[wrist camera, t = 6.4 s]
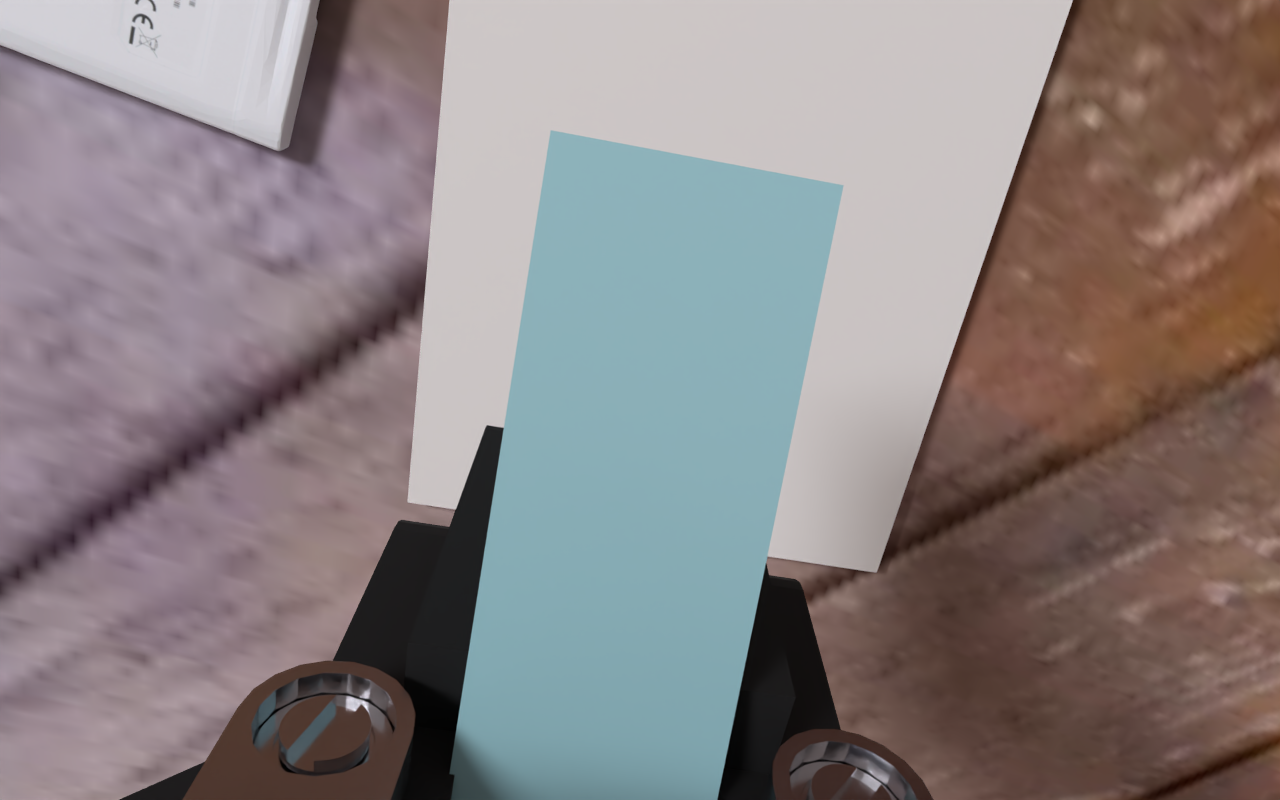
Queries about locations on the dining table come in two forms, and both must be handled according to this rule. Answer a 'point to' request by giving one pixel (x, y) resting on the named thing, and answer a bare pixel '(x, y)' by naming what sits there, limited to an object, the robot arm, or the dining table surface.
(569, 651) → the tile
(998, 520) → the dining table surface
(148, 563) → the dining table surface
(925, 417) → the mat
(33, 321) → the dining table surface
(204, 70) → the external hard drive
